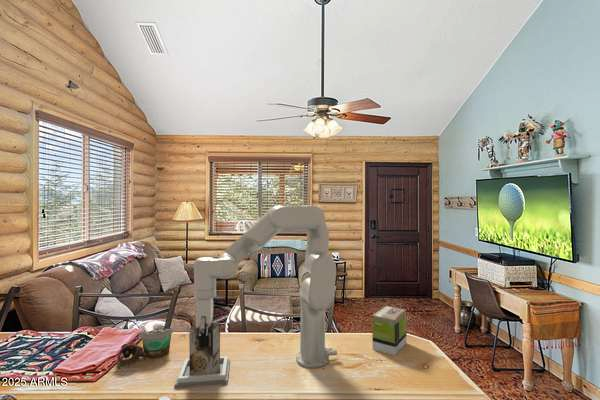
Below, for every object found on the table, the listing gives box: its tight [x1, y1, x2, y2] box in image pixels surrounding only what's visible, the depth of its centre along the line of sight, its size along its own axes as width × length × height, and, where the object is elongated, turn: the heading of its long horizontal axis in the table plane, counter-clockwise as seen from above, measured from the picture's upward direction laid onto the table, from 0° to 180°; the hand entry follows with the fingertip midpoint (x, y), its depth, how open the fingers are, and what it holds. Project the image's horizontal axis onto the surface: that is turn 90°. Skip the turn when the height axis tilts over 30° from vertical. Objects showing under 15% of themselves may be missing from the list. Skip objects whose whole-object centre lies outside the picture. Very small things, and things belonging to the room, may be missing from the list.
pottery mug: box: [116, 343, 147, 370], centre depth 121 cm, size 12×10×8 cm
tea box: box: [371, 305, 408, 356], centre depth 137 cm, size 15×10×15 cm, turn 144°
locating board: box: [173, 355, 231, 389], centre depth 114 cm, size 17×15×2 cm
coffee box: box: [188, 322, 221, 375], centre depth 114 cm, size 9×6×16 cm
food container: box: [139, 326, 174, 360], centre depth 127 cm, size 12×6×10 cm, turn 117°
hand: (205, 340), depth 115 cm, fingers open, 9 cm apart
